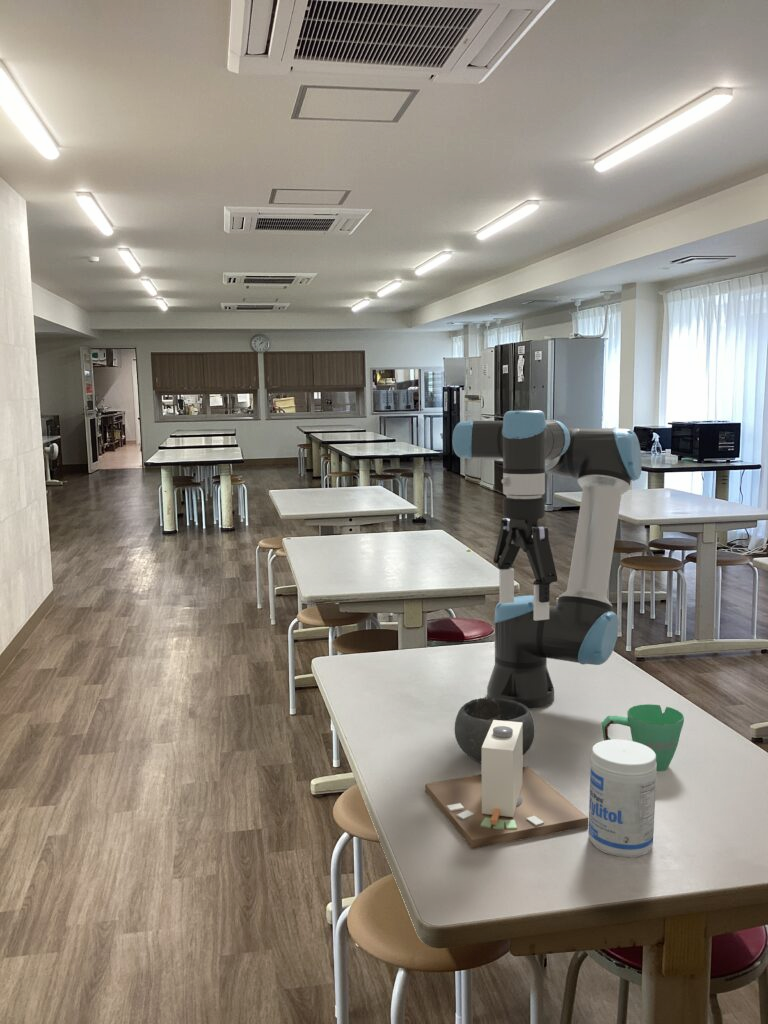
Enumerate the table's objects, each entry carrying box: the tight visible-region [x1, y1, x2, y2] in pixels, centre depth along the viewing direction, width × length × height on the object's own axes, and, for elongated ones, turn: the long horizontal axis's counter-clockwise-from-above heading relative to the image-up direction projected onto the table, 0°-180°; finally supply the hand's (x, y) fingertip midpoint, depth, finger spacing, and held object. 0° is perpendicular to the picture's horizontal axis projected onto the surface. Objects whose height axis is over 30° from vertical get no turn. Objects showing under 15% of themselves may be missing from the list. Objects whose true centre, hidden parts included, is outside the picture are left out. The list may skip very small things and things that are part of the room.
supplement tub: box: [587, 738, 657, 858], centre depth 125 cm, size 10×10×15 cm
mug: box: [601, 703, 685, 773], centre depth 152 cm, size 15×10×10 cm
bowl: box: [454, 697, 536, 763], centre depth 156 cm, size 15×15×10 cm
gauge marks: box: [447, 803, 544, 830], centre depth 132 cm, size 12×10×1 cm
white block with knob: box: [481, 720, 524, 825], centre depth 135 cm, size 16×5×12 cm, turn 164°
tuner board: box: [424, 766, 589, 850], centre depth 138 cm, size 20×20×2 cm
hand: (523, 610), depth 153 cm, fingers open, 13 cm apart
